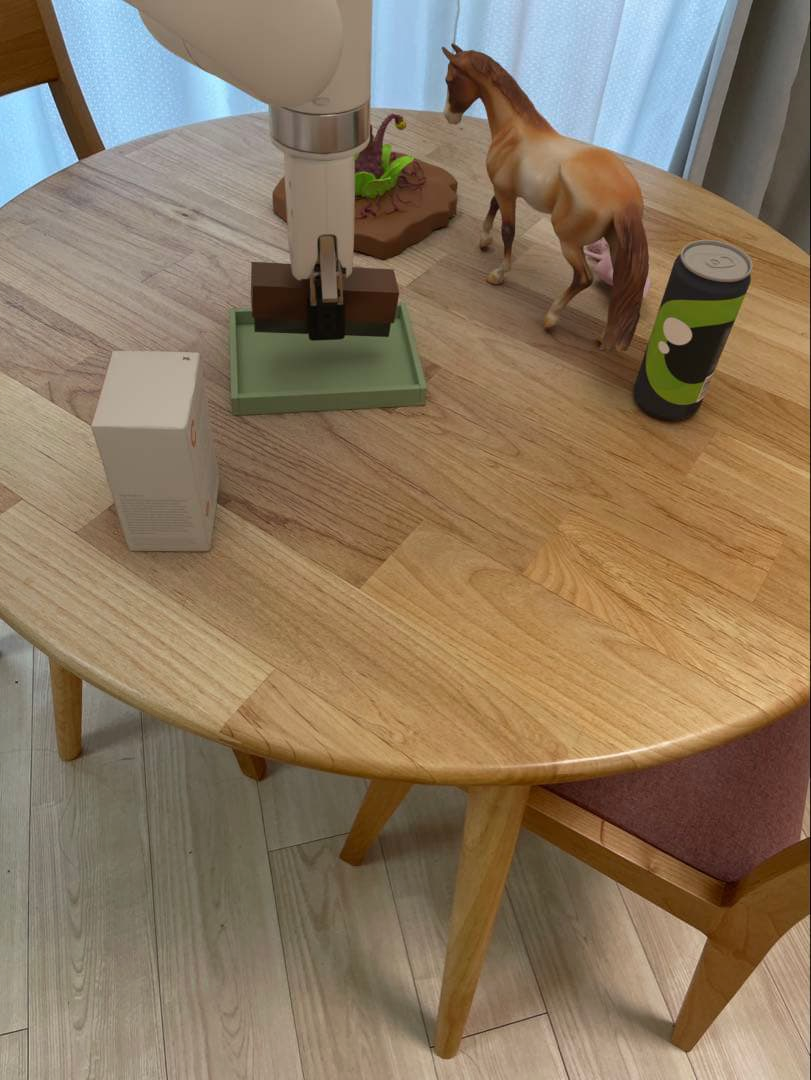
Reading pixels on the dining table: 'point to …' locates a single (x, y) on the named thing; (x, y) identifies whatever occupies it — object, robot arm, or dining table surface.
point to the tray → (322, 369)
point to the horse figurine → (555, 190)
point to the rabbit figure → (606, 263)
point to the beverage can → (692, 328)
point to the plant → (392, 197)
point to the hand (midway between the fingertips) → (324, 321)
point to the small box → (158, 449)
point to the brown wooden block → (286, 297)
